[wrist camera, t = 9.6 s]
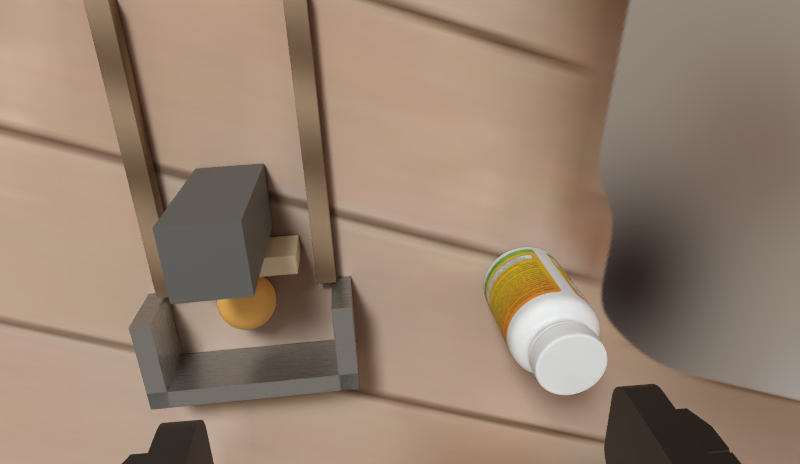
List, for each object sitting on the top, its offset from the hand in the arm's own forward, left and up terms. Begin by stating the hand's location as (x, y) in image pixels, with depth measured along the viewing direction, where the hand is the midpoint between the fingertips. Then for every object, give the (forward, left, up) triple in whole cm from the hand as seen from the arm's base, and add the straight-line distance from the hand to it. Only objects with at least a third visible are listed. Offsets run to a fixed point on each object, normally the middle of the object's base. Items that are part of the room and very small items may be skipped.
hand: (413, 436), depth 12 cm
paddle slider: (+5, -8, -26) cm, 27 cm away
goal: (+13, -8, -26) cm, 30 cm away
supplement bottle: (+11, +10, -26) cm, 30 cm away
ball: (+10, -8, -24) cm, 27 cm away
